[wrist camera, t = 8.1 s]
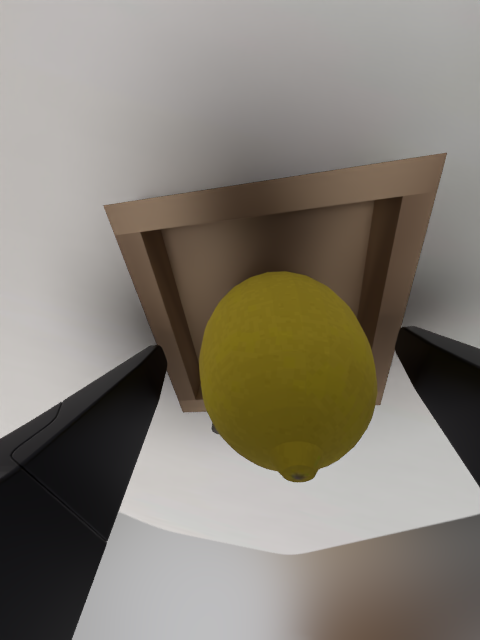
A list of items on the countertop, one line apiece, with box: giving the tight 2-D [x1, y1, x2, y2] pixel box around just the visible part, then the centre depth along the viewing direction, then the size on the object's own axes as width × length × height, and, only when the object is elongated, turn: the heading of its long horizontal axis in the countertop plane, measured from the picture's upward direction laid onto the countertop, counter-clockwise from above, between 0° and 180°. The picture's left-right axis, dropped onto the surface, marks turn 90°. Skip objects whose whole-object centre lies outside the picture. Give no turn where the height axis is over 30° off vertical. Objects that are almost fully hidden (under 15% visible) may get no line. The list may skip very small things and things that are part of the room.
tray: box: [103, 153, 447, 434], centre depth 10 cm, size 11×11×4 cm
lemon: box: [199, 271, 377, 482], centre depth 8 cm, size 6×6×8 cm
